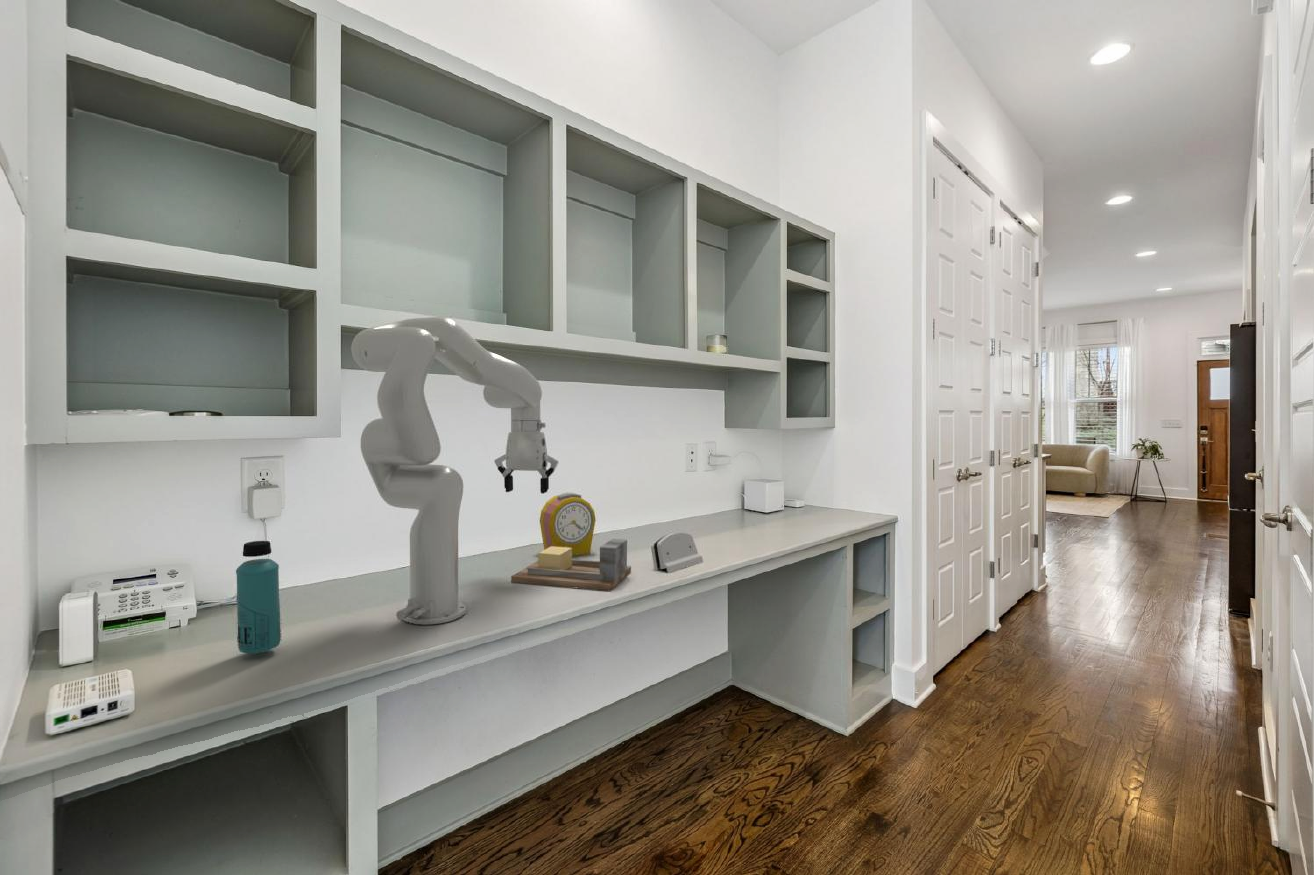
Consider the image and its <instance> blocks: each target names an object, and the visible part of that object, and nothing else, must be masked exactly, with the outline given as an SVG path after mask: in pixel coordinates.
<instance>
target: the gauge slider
mask: <svg viewBox="0 0 1314 875" xmlns="http://www.w3.org/2000/svg"><path fill="white" fill-rule="evenodd" d="M537 557H538V558H537V561H538V568H545V569H557V570H567V569H569V568H570V567H572V559H573V556H572V548H570V546H566V547H554V546H551V547H549V548H547V549H545V550H544V549H543V550H542V551H540V552H538V556H537Z"/></svg>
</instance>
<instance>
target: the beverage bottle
mask: <svg viewBox="0 0 1314 875" xmlns="http://www.w3.org/2000/svg"><path fill="white" fill-rule="evenodd" d="M242 548H243V549H242V550H243V551H242V556H243V557H245V558H246V557H248V558H252V557H254V558H255V557H262V556H267V555H271V554H272V547H271V542H270V541H268V540H253V541H249V542H245V543H244V544H243V547H242ZM279 569H280V565H279V563H277V562H276V561H274V560H272V559H271V558H255V559H250V560H245V561H244V562H243V563H241V564H240V565H239V566H238V567H237V568H236V569H235V574H236V596H235V597H236V607H237V612H236V615H237V617H236V618H237V623H236V625H237V637H236V643H237V648H238V651H239V652H240V653H242V654H257V653H263V652H267V651H270V650H273V649H275V648H277V647H278V646H279V645H280V644H281V641H282V629H281V626H282V622H281V619H282V617H281V605H280V604H281V600H280V581H279V580H280V579H279V577H280V575H279V574H280V573H279Z"/></svg>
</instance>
